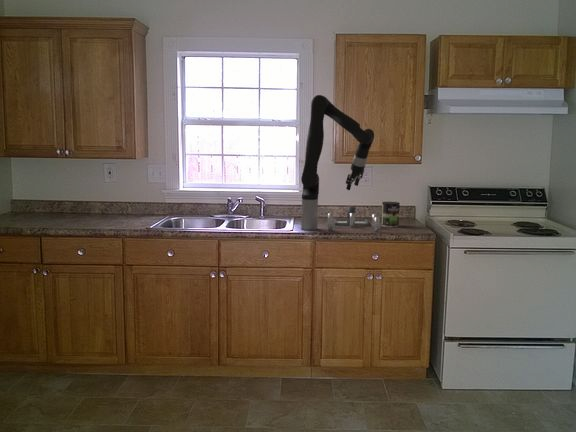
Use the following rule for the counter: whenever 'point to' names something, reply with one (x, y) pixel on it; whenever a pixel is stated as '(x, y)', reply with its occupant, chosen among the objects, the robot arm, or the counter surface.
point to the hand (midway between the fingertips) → (352, 187)
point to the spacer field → (352, 221)
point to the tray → (344, 223)
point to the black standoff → (350, 210)
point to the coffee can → (390, 214)
